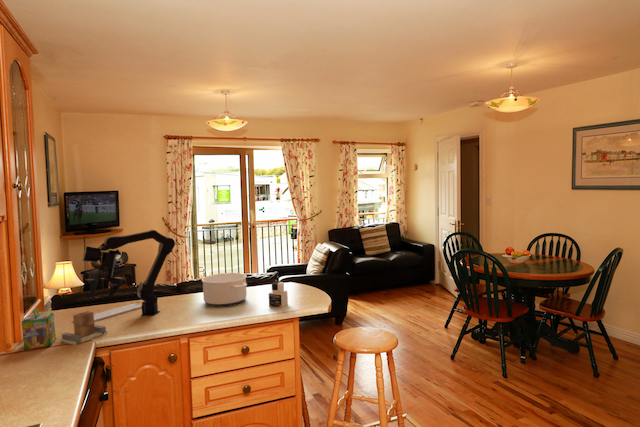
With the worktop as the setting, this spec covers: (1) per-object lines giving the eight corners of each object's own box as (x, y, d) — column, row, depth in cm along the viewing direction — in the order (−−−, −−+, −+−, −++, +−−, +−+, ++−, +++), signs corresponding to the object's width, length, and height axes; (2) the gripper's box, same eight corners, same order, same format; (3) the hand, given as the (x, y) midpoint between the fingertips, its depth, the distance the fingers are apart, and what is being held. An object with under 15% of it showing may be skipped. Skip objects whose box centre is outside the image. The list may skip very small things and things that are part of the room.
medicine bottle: (269, 307, 205) (267, 283, 204) (275, 303, 211) (274, 280, 211) (281, 308, 202) (280, 284, 201) (288, 304, 209) (287, 281, 208)
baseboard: (70, 322, 194) (83, 326, 187) (69, 316, 193) (82, 320, 187) (131, 305, 219) (144, 308, 213) (130, 300, 219) (144, 303, 213)
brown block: (88, 331, 175) (87, 311, 174) (94, 333, 173) (93, 312, 172) (74, 336, 169) (73, 315, 169) (81, 337, 167) (79, 316, 167)
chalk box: (50, 346, 162) (47, 310, 161) (23, 350, 159) (20, 313, 158) (56, 338, 170) (54, 304, 169) (30, 342, 167) (27, 307, 166)
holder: (93, 330, 179) (93, 323, 179) (107, 333, 175) (106, 326, 175) (61, 341, 167) (60, 334, 166) (74, 344, 163) (74, 337, 162)
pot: (262, 302, 213) (261, 277, 213) (225, 314, 196) (223, 286, 195) (226, 293, 236) (224, 269, 235) (189, 302, 219) (187, 277, 218)
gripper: (77, 260, 183) (70, 295, 181) (113, 267, 179) (106, 302, 178) (95, 260, 194) (88, 292, 192) (129, 266, 190) (123, 300, 189)
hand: (101, 297), depth 188 cm, fingers open, 9 cm apart
